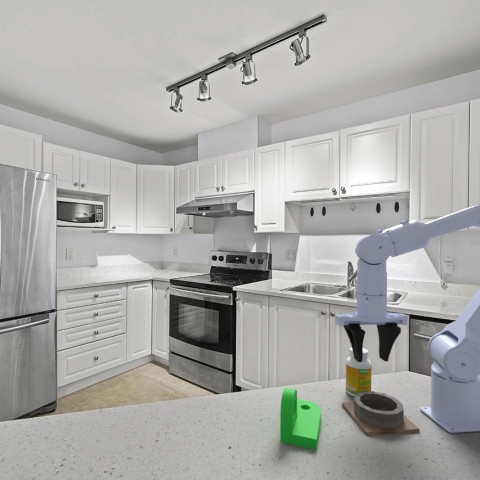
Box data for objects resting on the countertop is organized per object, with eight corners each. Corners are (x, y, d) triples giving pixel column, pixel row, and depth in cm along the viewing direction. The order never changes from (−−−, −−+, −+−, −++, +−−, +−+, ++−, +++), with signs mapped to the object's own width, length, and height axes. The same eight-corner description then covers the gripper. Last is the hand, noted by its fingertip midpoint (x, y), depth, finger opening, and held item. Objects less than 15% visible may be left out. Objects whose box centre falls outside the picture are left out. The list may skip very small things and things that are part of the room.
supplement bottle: (358, 400, 67) (359, 355, 67) (340, 390, 72) (341, 347, 72) (376, 395, 70) (377, 351, 70) (357, 385, 75) (358, 344, 75)
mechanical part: (316, 451, 51) (316, 402, 51) (280, 443, 53) (280, 396, 53) (322, 413, 63) (322, 373, 63) (292, 408, 65) (292, 369, 65)
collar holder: (387, 403, 66) (387, 388, 66) (419, 432, 56) (419, 414, 56) (342, 405, 65) (342, 390, 65) (366, 435, 55) (366, 417, 55)
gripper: (393, 290, 69) (393, 352, 69) (329, 290, 68) (329, 353, 68) (414, 295, 62) (413, 364, 62) (343, 296, 61) (343, 367, 61)
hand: (370, 360), depth 64 cm, fingers open, 5 cm apart
